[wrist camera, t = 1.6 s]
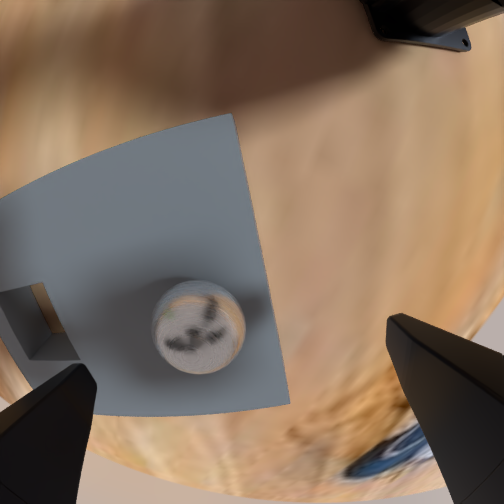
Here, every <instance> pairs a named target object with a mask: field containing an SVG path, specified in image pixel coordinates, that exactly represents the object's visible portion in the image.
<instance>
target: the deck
mask: <svg viewBox="0 0 504 504" xmlns="http://www.w3.org/2000/svg"><path fill="white" fill-rule="evenodd" d="M190 280H204V281H209V282H213V283H215V284H218V285H220V286H222V287H223V288H225V289H226V290H228V291H229V292H230V293H231V294H232V295H233V296H234V297H235V299H236V300H237V301H238V303H239V304H240V306H241V308H242V311H243V313H244V316H245V322H246V334H245V340H244V343H243V346H242V348H241V350H240V352H239V353H238V355H237V356H236V358H235V359H234V360H233V361H232V362H231V363H230V364H228V365H227V366H226V367H224V368H222V369H220V370H218V371H216V372H213V373H208V374H190V373H186V372H183V371H180V370H178V369H176V368H175V367H173V366H172V365H170V364H169V363H168V362H166V361H165V360H164V359H163V357H162V356H161V355H160V353H159V352H158V351H157V349H156V347H155V344H154V342H153V339H152V335H151V318H152V313H153V310H154V308H155V306H156V304H157V302H158V301H159V299H160V298H161V296H162V295H163V294H164V293H165V292H166V291H168V290H169V289H170V288H171V287H173V286H175V285H177V284H179V283H182V282H185V281H190ZM42 282H43V285H44V287H45V289H46V292H47V294H48V296H49V299H50V301H51V303H52V305H53V307H54V310H55V312H56V314H57V316H58V318H59V320H60V322H61V324H62V326H63V328H64V330H65V332H63V333H52V332H51V330H50V328H49V327H48V325H47V323H46V321H45V318H44V316H43V314H42V312H41V310H40V308H39V306H38V304H37V301H36V299H35V297H34V295H33V292H32V290H31V288H30V285H33V284H37V283H42ZM0 337H1V339H2V341H3V342H4V344H5V346H6V348H7V349H8V351H9V353H10V355H11V356H12V358H13V360H14V361H15V363H16V364H17V366H18V368H19V369H20V371H21V372H22V374H23V375H24V377H25V378H26V380H27V381H28V383H29V384H30V386H31V387H32V389H33V390H34V389H35V388H37V387H38V386H40V385H41V384H43V383H44V382H46V381H47V380H49V379H50V378H52V377H53V376H55V375H56V374H58V373H59V372H61V371H62V370H64V369H65V368H67V367H68V366H70V365H71V364H73V363H83V364H85V365H86V366H87V368H88V370H89V371H90V373H91V375H92V376H93V378H94V379H95V381H96V383H97V394H96V400H95V406H94V412H93V414H95V415H110V416H135V417H166V416H192V415H207V414H219V413H229V412H238V411H246V410H254V409H261V408H268V407H274V406H280V405H286V404H290V397H289V391H288V385H287V379H286V373H285V367H284V362H283V357H282V351H281V346H280V341H279V336H278V331H277V326H276V321H275V316H274V310H273V305H272V300H271V295H270V290H269V285H268V280H267V275H266V270H265V265H264V260H263V255H262V250H261V245H260V240H259V235H258V231H257V226H256V221H255V216H254V211H253V206H252V201H251V196H250V192H249V187H248V182H247V177H246V172H245V168H244V163H243V158H242V153H241V149H240V144H239V139H238V135H237V130H236V125H235V121H234V118H233V116H232V113H229V114H224V115H220V116H215V117H211V118H207V119H203V120H199V121H195V122H191V123H187V124H183V125H180V126H176V127H173V128H169V129H166V130H162V131H159V132H156V133H152V134H149V135H146V136H143V137H140V138H137V139H134V140H131V141H128V142H125V143H122V144H119V145H117V146H114V147H111V148H109V149H106V150H103V151H101V152H98V153H96V154H93V155H90V156H88V157H86V158H83V159H81V160H78V161H76V162H74V163H71V164H69V165H67V166H64V167H62V168H60V169H58V170H56V171H53V172H51V173H49V174H47V175H45V176H43V177H41V178H39V179H37V180H35V181H33V182H31V183H29V184H27V185H25V186H23V187H21V188H19V189H17V190H16V191H14V192H12V193H10V194H8V195H7V196H5V197H3V198H1V199H0Z"/></svg>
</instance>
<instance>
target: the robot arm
mask: <svg viewBox="0 0 504 504" xmlns="http://www.w3.org/2000/svg"><path fill="white" fill-rule="evenodd" d="M360 1H361V2H362V3H363V5H364V8H365V10H366V13H367V16H368V19H369V22H370V25H371V28H372V31H373V33H374V35H375V36H376V37H377V38H378V39H380V40H382V41H392V42H403V43H413V44H421V45H428V46H435V47H441V48H446V49H452V50H457V51H461V52H467V51H470V50H471V43H470V40H469V37H468V34H467V31H466V28H465V27H467V26H470V25H472V24H475V23H477V22H480V21H483V20H485V19H488V18H491V17H494V16H497V15H500V14H503V13H504V0H360ZM380 28H382V29H384V30H385V31H386V34H384V33H383V32H382V31H381V29H380ZM462 42H463V43H464V44H463V43H462ZM386 347H387V350H388V352H389V355H390V357H391V360H392V362H393V365H394V368H395V370H396V373H397V376H398V378H399V381H400V384H401V387H402V389H403V392H404V394H405V396H406V398H407V400H408V402H409V404H410V406H411V408H412V410H413V412H414V414H415V416H416V418H417V420H418V422H419V424H420V426H421V429H422V431H423V433H424V435H425V437H426V439H427V441H428V444H429V446H430V448H431V450H432V452H433V455H434V457H435V459H436V461H437V464H438V466H439V468H440V471H441V473H442V475H443V478H444V480H445V483H446V485H447V487H448V490H449V492H450V495H451V497H452V500H453V502H454V504H504V355H502V354H501V353H499V352H497V351H494V350H492V349H489V348H487V347H484V346H482V345H479V344H477V343H474V342H472V341H470V340H467V339H465V338H462V337H460V336H457V335H455V334H452V333H450V332H447V331H445V330H442V329H440V328H438V327H435V326H433V325H430V324H428V323H425V322H423V321H420V320H418V319H415V318H413V317H411V316H408V315H406V314H403V313H399V314H395V315H392V316H389V317H388V319H387V327H386ZM96 394H97V383H96V381H95V379H94V378H93V376H92V375H91V373H90V371H89V370H88V368H87V366H86V365H85V364H83V363H73V364H71V365H70V366H68V367H67V368H65V369H64V370H62V371H61V372H59V373H58V374H56V375H55V376H53V377H52V378H50V379H49V380H47V381H46V382H44V383H43V384H41V385H40V386H38V387H37V388H35V389H34V390H32V391H31V392H29V393H28V394H27V395H25V396H24V397H22V398H21V399H19V400H18V401H16V402H15V403H13V404H12V405H10V406H9V407H7V408H6V409H4V410H3V411H2V412H0V504H76V500H77V493H78V488H79V482H80V477H81V471H82V466H83V461H84V456H85V452H86V447H87V443H88V439H89V435H90V430H91V425H92V419H93V412H94V406H95V400H96Z"/></svg>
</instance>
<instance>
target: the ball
mask: <svg viewBox="0 0 504 504" xmlns="http://www.w3.org/2000/svg"><path fill="white" fill-rule="evenodd" d="M245 334H246V322H245V316H244V313H243V311H242V308H241V306H240V304H239V303H238V301H237V300H236V299H235V297H234V296H233V295H232V294H231V293H230V292H229V291H228V290H226V289H225V288H223V287H222V286H220V285H218V284H215V283H213V282H209V281H204V280H190V281H185V282H182V283H179V284H177V285H175V286H173V287H171V288H170V289H169V290H168V291H166V292H165V293H164V294H163V295H162V296H161V298H160V299H159V301H158V302H157V304H156V306H155V308H154V310H153V313H152V318H151V335H152V339H153V342H154V344H155V347H156V349H157V351H158V352H159V353H160V355H161V356H162V357H163V359H164V360H165V361H166V362H168V363H169V364H170V365H172V366H173V367H175V368H176V369H178V370H180V371H183V372H186V373H190V374H208V373H213V372H216V371H218V370H220V369H222V368H224V367H226V366H227V365H228V364H230V363H231V362H232V361H233V360H234V359H235V358H236V356H237V355H238V353H239V352H240V350H241V348H242V346H243V343H244V340H245Z"/></svg>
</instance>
